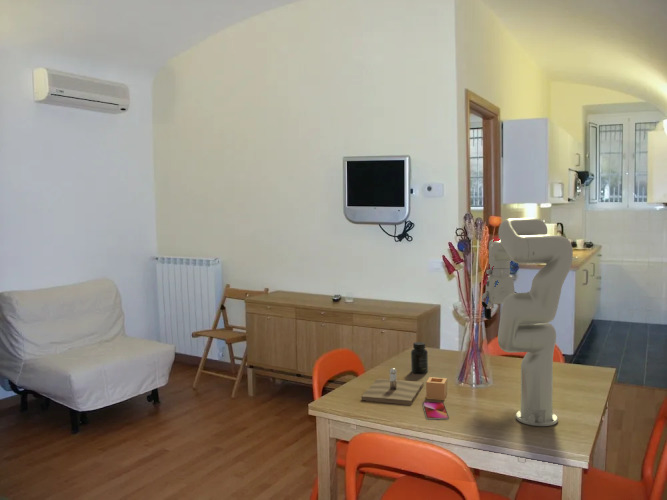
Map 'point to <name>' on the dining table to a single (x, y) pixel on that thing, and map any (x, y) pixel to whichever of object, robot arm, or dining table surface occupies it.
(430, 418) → the smartphone
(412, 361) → the supplement bottle
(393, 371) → the post
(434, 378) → the hollow wooden cube
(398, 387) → the board
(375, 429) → the dining table surface
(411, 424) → the dining table surface
